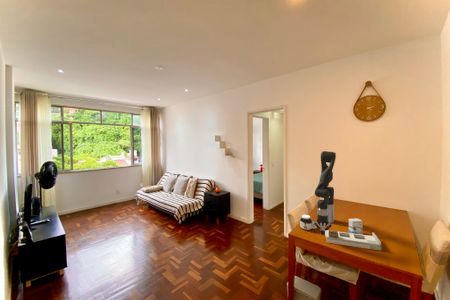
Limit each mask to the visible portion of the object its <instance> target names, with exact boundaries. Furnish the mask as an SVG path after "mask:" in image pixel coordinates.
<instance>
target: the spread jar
mask: <svg viewBox="0 0 450 300" xmlns="http://www.w3.org/2000/svg"><path fill="white" fill-rule="evenodd" d="M314 222H315V221H313V220H312V218H311V216H310V215H309V214H302V215H301V218H300V219H299V226H300V228H301V229H302V230H303V229H304V230H303V231H306V230H309V231H311V230H312V229H316V228H317V227H316V226H315V224H314Z"/></svg>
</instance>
